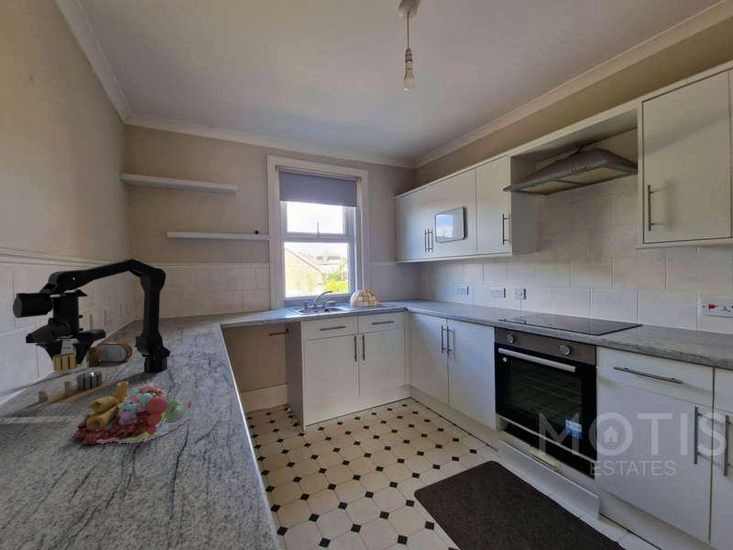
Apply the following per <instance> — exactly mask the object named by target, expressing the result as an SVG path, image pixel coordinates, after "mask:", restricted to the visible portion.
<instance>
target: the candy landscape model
mask: <svg viewBox="0 0 733 550" xmlns="http://www.w3.org/2000/svg"><path fill="white" fill-rule="evenodd" d="M160 384H161V383H159V382H158V383H156V384H154V382H147V383H145V384H143V382H142V383H141V386H136V387H135V388H134V389H133V390H132V391H131V393H128V392H127V390H128V387H129V381H126V380H125V381H120V382H117V384H116V386H115V389H116V390H115V391H116V392H115V393H114V392H111V393H109V396H105V397H104V396H103V397H99V398H97V399H95V400H93V401H92V402H91V403H90V404H89V405H88V406H87V407H88V408H89V409H91V410H92V411H90V412H88V413H87V414H86V416H85V418H84V420H83V421H81V422H80V423H79V424H78V425H77V426H76V428H77V429H76V430H75V431H74V432H73V434H74V435H73V436H75V438H74V440H73V441H74V442H76V441H79V440H81V439H83V438H84V439H83V440H82V442H81V443H80V444H81V445H80V446H82V445H83V444H93V445H95V444H96V443H101V444H100V445H105V444H104V443H106V442H111V441H116V442H118V443H120V442H131V441H137V440H140V439H144V438H148V439H149V438H151V437H152V436H154V435H156V434H157V432H156V431H157V427H156V425H157V424H158V423H161V422H162V420H164V419H165V418H167V419H166V420H165V423H173V422H176V421H178V420H180V419H181V418H183V417H184V416H185V415H186V413H187V412H188V409H187V408H190V407H191V406H192V403H191V402H192V401H191V400H189V402H188V403H187V405H188V407H187V408H186V403H185V401H183V400H180V398H177V397H176V398H173V399H172V396H171V395H170V394H167V393H166V389H165V387H163V386H161V389H160ZM167 396H168V397H167ZM158 431H159V430H158ZM111 443H112V442H111ZM118 443H117V444H118ZM106 444H107V443H106ZM83 446H84V445H83Z"/></svg>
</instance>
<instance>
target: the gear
mask: <svg viewBox="0 0 733 550" xmlns="http://www.w3.org/2000/svg"><path fill="white" fill-rule="evenodd" d="M75 378H76V379H75V381H76V384H75V385H77V390H90V389H94V388H97V387H100V386H101V385H102V382H103V372H102V371H101V370H100V371H88V372H85V373H80V374H78V375H77V376H76V377H75Z"/></svg>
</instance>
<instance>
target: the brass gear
mask: <svg viewBox="0 0 733 550" xmlns="http://www.w3.org/2000/svg"><path fill="white" fill-rule="evenodd" d="M81 366H82V363H81V364H77V360H76V352H68V353H62V354H58V355H55V356H53V361H52V370H53V371H54V372H61V371H62V370H63V371H66V370H71V369H76V368H79V367H81Z"/></svg>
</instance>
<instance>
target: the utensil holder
mask: <svg viewBox="0 0 733 550" xmlns="http://www.w3.org/2000/svg"><path fill="white" fill-rule="evenodd" d="M96 342H97V341H94V343H93V347H92V346H91V347H90V349H89V350H88V356H89V368H91V367H95V366H97V365H98V366H99V364H100V360H99V354H98V352H97V346H96Z"/></svg>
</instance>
